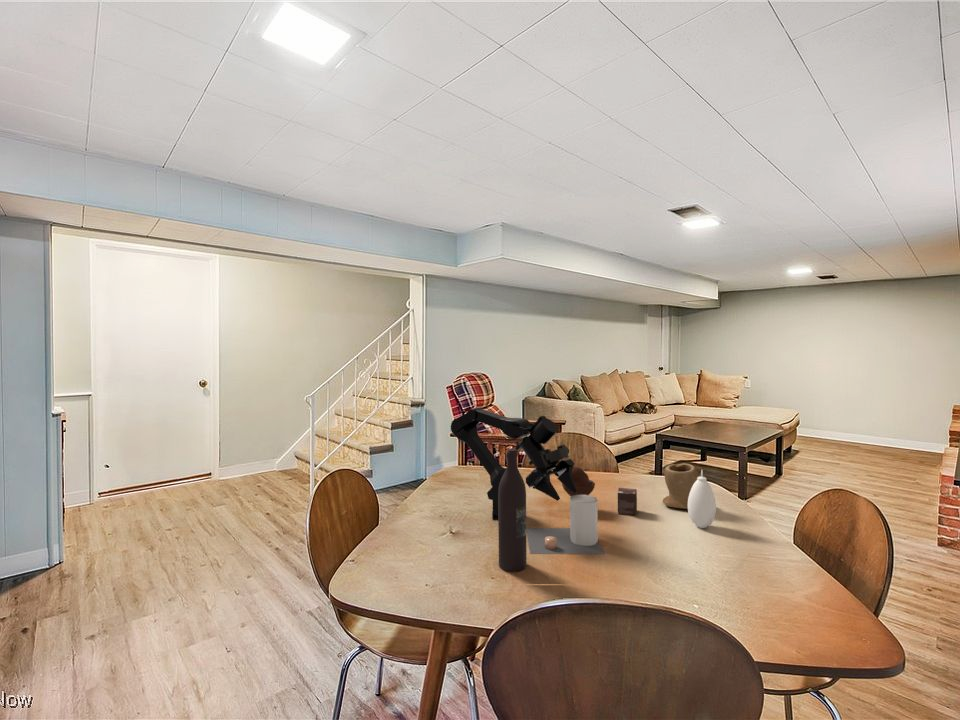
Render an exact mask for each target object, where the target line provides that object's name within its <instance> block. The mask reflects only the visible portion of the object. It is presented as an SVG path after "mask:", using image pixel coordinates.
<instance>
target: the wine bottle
mask: <svg viewBox="0 0 960 720" xmlns="http://www.w3.org/2000/svg"><path fill="white" fill-rule="evenodd" d="M518 451H519V450H518ZM518 451H517V449H516V448H507V449H506V452H505V455H506V470H505V472H504V475H503V476H502V478H501V481H500V484H499V490H498V519H497V521H498V524H497V525H498V527H497V528H498V567H499V568H500V570H502V571H504V572H507V573H518V572H521V571H525V569H526V568H527V533H526V528H527V488H526V482H525V480H524V478H523V476H522V474H521V473H520V471H519V468H518V456H519V455H518V453H519V452H518Z"/></svg>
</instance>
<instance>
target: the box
mask: <svg viewBox="0 0 960 720" xmlns="http://www.w3.org/2000/svg"><path fill="white" fill-rule="evenodd" d="M637 492H638V490H637V488H628V487H627V488H625V487H618V488H617V515H624V516H625V515H626V516H637V515H638V513H637V512H638V498H637V497H638V496H637V495H638V493H637Z"/></svg>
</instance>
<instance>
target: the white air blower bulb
mask: <svg viewBox="0 0 960 720" xmlns="http://www.w3.org/2000/svg"><path fill="white" fill-rule="evenodd" d="M703 474H704V472H703V469H701V471H700V476H698V477H697V481H696V482H695V483H694V484H693V486H692V488H691V491H690V494H689V497H688V509H687V512H688V516H689V519H690V520H691V522H692V523H693V524H694V525H695V526H696V527H698V528H700V529H705V528H707V527H709V526H711V525H712V523H713V522H714V520H715V518H716V511H717V502H716V497H715V494H714V491H713V488H712V487H711V485H710V483H709V482H708V481H707V479H708V478H707V477H705V476H704V475H703Z"/></svg>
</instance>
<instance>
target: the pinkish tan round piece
mask: <svg viewBox="0 0 960 720" xmlns="http://www.w3.org/2000/svg"><path fill="white" fill-rule="evenodd" d="M545 548H546V549H548V550H555V549H557V538H556V537H553V536H548V537H545Z"/></svg>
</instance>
